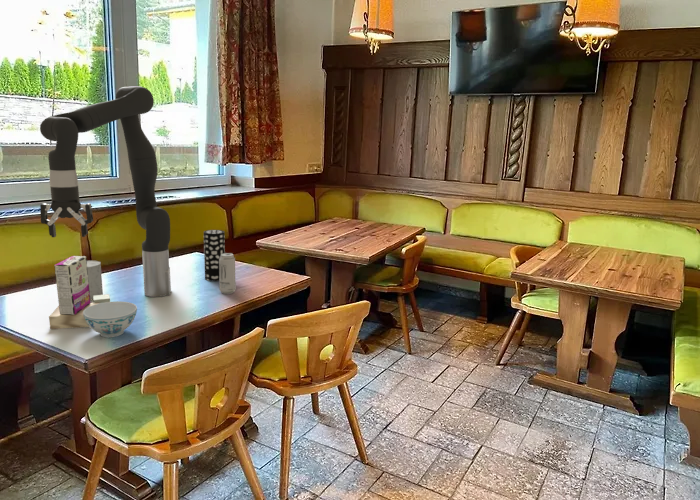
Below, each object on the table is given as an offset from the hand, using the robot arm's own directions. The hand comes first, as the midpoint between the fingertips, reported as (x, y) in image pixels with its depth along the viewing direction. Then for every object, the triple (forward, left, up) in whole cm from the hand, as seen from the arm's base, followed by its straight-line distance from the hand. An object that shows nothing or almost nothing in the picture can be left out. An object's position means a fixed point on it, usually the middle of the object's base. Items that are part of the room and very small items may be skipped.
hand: (68, 236), depth 165 cm
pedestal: (0, 0, -28) cm, 28 cm away
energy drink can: (-48, -25, -28) cm, 61 cm away
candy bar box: (0, 0, -24) cm, 24 cm away
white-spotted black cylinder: (-43, -44, -28) cm, 68 cm away
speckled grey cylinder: (+2, -26, -28) cm, 38 cm away
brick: (-6, -9, -28) cm, 30 cm away
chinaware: (-13, +12, -28) cm, 33 cm away
